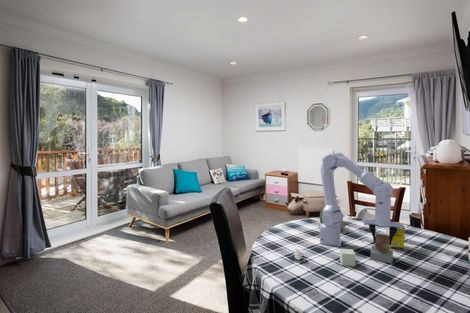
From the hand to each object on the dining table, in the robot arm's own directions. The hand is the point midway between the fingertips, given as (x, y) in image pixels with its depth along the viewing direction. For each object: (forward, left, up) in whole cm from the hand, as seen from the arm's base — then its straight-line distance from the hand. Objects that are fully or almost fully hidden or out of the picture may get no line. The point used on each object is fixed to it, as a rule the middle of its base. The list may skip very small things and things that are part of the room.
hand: (382, 243), depth 115 cm
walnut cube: (0, 0, -2) cm, 2 cm away
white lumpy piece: (-30, -14, -7) cm, 34 cm away
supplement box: (+6, +16, -7) cm, 18 cm away
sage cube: (-13, -11, -7) cm, 18 cm away
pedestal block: (0, 0, -7) cm, 7 cm away
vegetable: (-24, +32, -7) cm, 40 cm away
